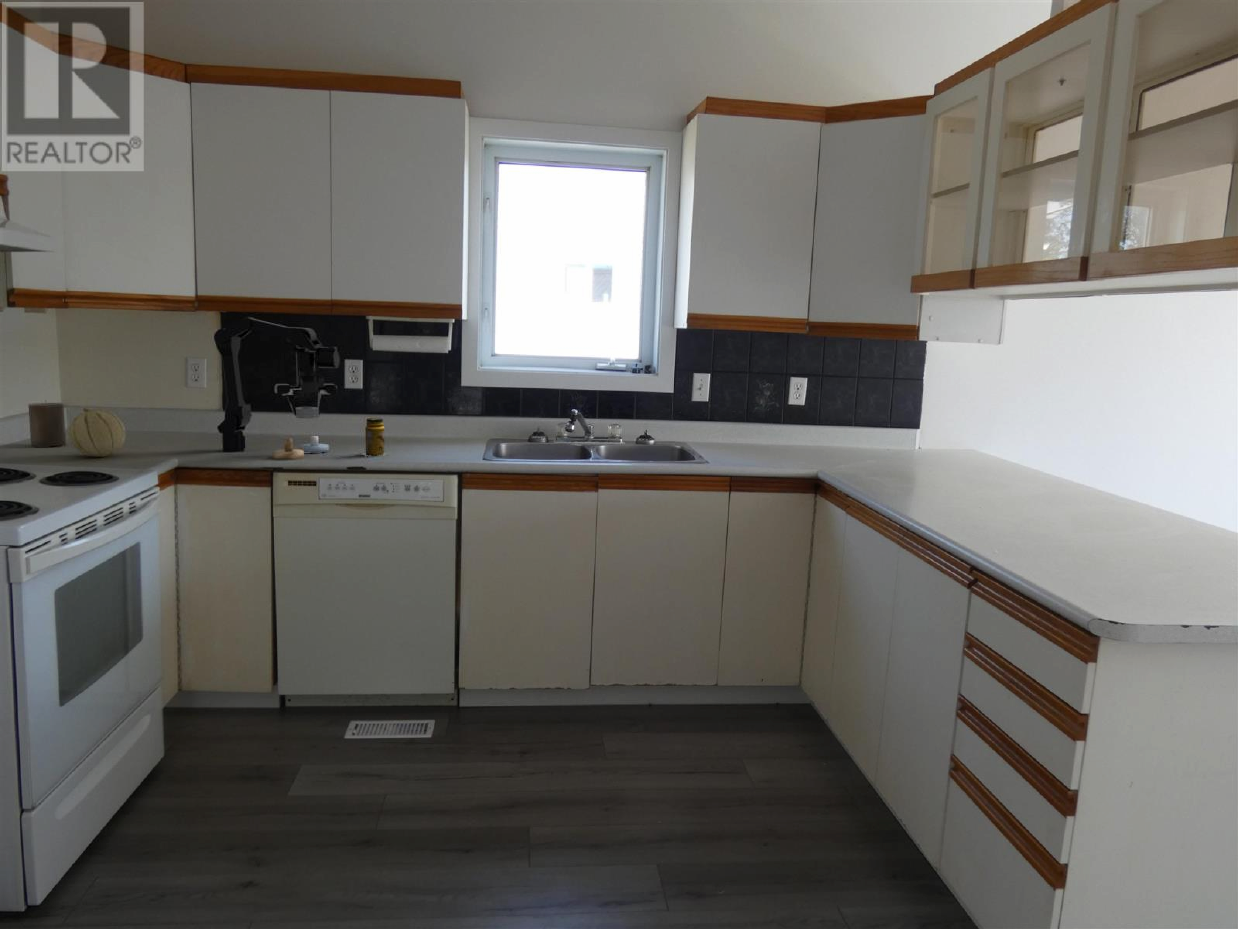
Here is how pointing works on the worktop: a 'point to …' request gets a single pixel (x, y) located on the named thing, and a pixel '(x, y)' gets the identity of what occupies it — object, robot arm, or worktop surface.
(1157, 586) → the worktop surface
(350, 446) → the worktop surface
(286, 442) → the stand
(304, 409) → the ring
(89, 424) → the cantaloupe
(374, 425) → the condiment
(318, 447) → the hub
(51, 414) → the pillar candle
